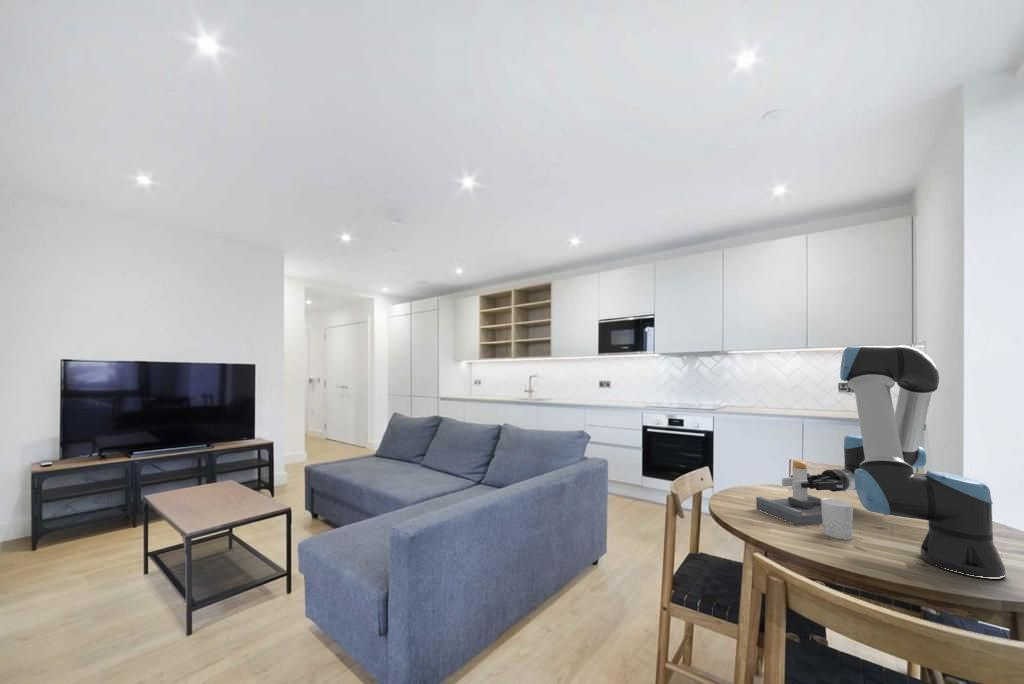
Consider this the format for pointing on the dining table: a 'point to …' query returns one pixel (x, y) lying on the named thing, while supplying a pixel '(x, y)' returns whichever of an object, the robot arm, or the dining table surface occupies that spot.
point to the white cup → (837, 518)
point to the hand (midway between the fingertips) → (787, 483)
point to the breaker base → (792, 518)
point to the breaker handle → (800, 494)
